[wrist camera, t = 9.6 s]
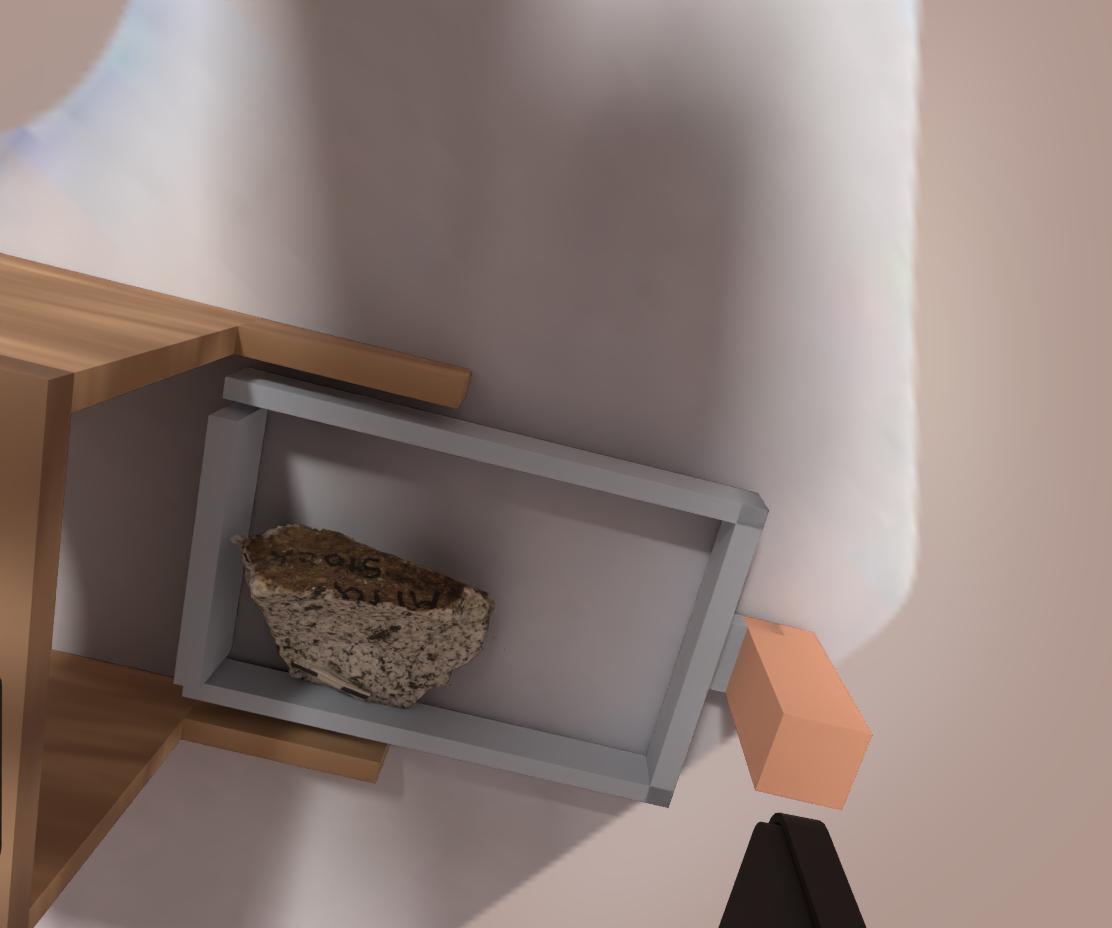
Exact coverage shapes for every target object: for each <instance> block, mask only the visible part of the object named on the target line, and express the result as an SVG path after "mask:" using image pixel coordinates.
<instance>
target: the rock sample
mask: <svg viewBox="0 0 1112 928" xmlns="http://www.w3.org/2000/svg"><path fill="white" fill-rule="evenodd" d="M243 534H244V533H243ZM244 535H245V534H244ZM241 538H242V539H243V537H242V536H241V537H240V536H239V534H238V535H233V536H232V537H231V538H230V540H231V542H232V543H235V544H238V546H239V549H240V551H241V555H242V562H243V563H244V576H245V580H246V582H247V584H248V586H249V588H250V589H251V597H252V598H253V600H254V602H255V604H256V605H257V606H258V607H259V609H260V611H261V612H262V614H263V616H264V618H265V620H266V622H267V625H268V628H269V630H270V632H271V635H272V637H273V640H274V642H275V644H276V647H277V650H278V653H279V654H280V656H281V657H282V658H283V659H284V661H285V662H286V663H287V667H288V671H289V674H290V675H291V676H292V677H294V678H298V679H301V680H304V681H307V682H310V683H313V684H315V685H322V686H326V687H331V688H333V689H336V690H338V691H341V692H343V693H346V694H348V695H350V696H351V697H353V698H354V699H356V700H360V701H368V702H373V703H378V704H380V705H386V706H391V707H397V708H403V709H407V708H409V707H410V706H412V705H413V704H414V703H416V702H417V701H418V700H419V699H420V697H422V696H423V695H424V694H425V693H426V691H427V690H429V689H430V688H434V687H445V685H446V684H447V682H448V681H449V678H450V675H451V673H452V670H453V669H454V668H458V667H461V666H464V665H466V664H467V663H468V662H469V661H471V660H472V659H473V658H474V657H475V656H476V655H477V654H478V651H479V648H480V647H481V648H482V646H481V645H482V643H483V641H484V636H485V634H486V633H487V631H488V629H489V628H488V626H489V618H490V615H491V612H492V611H493V610H494V605H495V604H494V601H493V600H492V598H491V597H490V595H489V594H488V593H486V592H484V591H482V590H479V589H474V588H471V587H470V586H468V585H467V584H465V583H460V582H458V581H456V580H453V579H451V578H449V577H447V576H444V575H441V574H439V573H437V572H435V571H433V570H431V569H429V568H427V567H423V566H418V565H415V564H413V563H412V562H410V561H404V560H402V559H401V558H399V557H397V556H395V555H392V554H389V553H384V552H381V551H378V550H376V549H374V548H371V547H369V546H367V545H364V544H360V543H358V542H355V541H354V539H353V538H349V537H347V536H345V535H344V534H342V533H340V532H336V531H331V530H326V529H322V530H321V531H319V530H317V529H312V528H310V527H308V526H303V525H299V523H297V524H294V525H290V524H287V525H286V526H277V528H275V529H268V530H267V531H266V532H264V533H263V534H262V535H256V536H252V537H251V538H245V539H243V540H242V539H241ZM239 556H240V555H239ZM494 639H496V637H494ZM482 649H483V648H482ZM504 650H505V649H504ZM449 685H450V684H449Z"/></svg>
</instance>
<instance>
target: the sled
mask: <svg viewBox="0 0 1112 928" xmlns="http://www.w3.org/2000/svg"><path fill="white" fill-rule="evenodd" d="M222 398H224V399H228V400H232V401H235V402H233V403H231V404H229V405H227V406H225V407H223V408H222V409H220V410H218V411H216V412H214V413H212V414H210V415H209V417H208V424H207V432H206V439H205V447H204V455H203V462H202V470H201V477H200V485H199V492H198V500H197V508H196V515H195V523H194V530H193V538H192V546H191V553H190V561H189V568H188V576H187V584H186V591H185V599H184V606H183V614H182V622H181V629H180V637H179V644H178V652H177V659H176V667H175V675H174V682H173V684H178V685H182V686H183V691H182V696H183V697H188V698H192V699H196V700H201V701H205V702H209V703H214V704H218V705H222V706H227V707H231V708H236V709H240V710H244V711H249V712H253V713H257V714H262V715H266V716H270V717H275V718H279V719H283V720H288V721H292V722H296V723H301V724H305V725H310V726H314V727H318V728H323V729H327V730H331V731H336V732H340V733H344V734H349V735H353V736H357V737H362V738H366V739H371V740H375V741H379V742H384V743H388V744H392V745H397V746H401V747H405V748H410V749H414V750H418V751H423V752H427V753H431V754H436V755H440V756H445V757H449V758H453V759H458V760H462V761H466V762H471V763H475V764H479V765H484V766H488V767H492V768H497V769H501V770H505V771H510V772H514V773H519V774H523V775H527V776H532V777H536V778H540V779H545V780H549V781H553V782H558V783H562V784H566V785H571V786H575V787H579V788H584V789H588V790H593V791H597V792H601V793H606V794H610V795H614V796H619V797H623V798H627V799H632V800H636V801H640V802H645V803H649V804H654V805H658V806H663V807H667V808H668V807H669V804H670V802H671V798H672V796H673V793H674V789H675V787H676V784H677V781H678V778H679V775H680V772H681V769H682V766H683V763H684V760H685V757H686V754H687V751H688V748H689V745H690V742H691V740H692V737H693V734H694V731H695V728H696V725H697V722H698V719H699V716H700V713H701V710H702V707H703V704H704V701H705V698H706V695H707V692H708V689H711V690H716V691H720V692H724V693H725V694H726V698H727V701H728V704H729V707H730V710H731V714H732V717H733V720H734V723H735V726H736V730H737V733H738V736H739V739H740V743H741V746H742V749H743V752H744V755H745V759H746V762H747V765H748V768H749V771H750V775H751V778H752V781H753V784H754V788H755V790H756V791H760V792H764V793H769V794H773V795H777V796H782V797H786V798H791V799H795V800H799V801H803V802H808V803H812V804H817V805H821V806H825V807H829V808H834V809H838V810H842V809H843V806H844V804H845V801H846V799H847V797H848V794H849V792H850V789H851V787H852V784H853V782H854V780H855V777H856V775H857V772H858V770H859V767H860V765H861V762H862V760H863V757H864V755H865V752H866V750H867V748H868V745H869V743H870V740H871V738H872V736H873V734H872V732H871V730H870V729H869V727H868V725H867V724H866V722H865V720H864V718H863V717H862V715H861V713H860V711H859V710H858V708H857V706H856V705H855V703H854V701H853V699H852V698H851V696H850V694H849V692H848V691H847V689H846V687H845V685H844V684H843V682H842V680H841V678H840V677H839V675H838V673H837V672H836V670H835V668H834V666H833V665H832V663H831V661H830V659H829V658H828V656H827V654H826V652H825V651H824V649H823V647H822V646H821V644H820V642H819V640H818V639H817V637H816V635H815V633H813V632H809V631H805V630H801V629H796V628H792V627H788V626H784V625H780V624H776V623H771V622H767V621H763V620H759V619H755V618H751V617H746V616H742V615H738V614H734V612H735V609H736V606H737V603H738V601H739V598H740V595H741V592H742V589H743V586H744V583H745V580H746V577H747V574H748V571H749V568H750V565H751V562H752V559H753V556H754V553H755V550H756V547H757V544H758V541H759V538H760V535H761V532H762V530H763V527H764V524H765V521H766V518H767V515H768V512H769V509H768V508H767V506H766V505H765V503H764V502H763V500H762V499H761V497H760V496H759V494H758V493H755V492H751V491H747V490H743V489H739V488H735V487H731V486H727V485H723V484H719V483H715V482H711V481H706V480H702V479H698V478H694V477H690V476H686V475H682V474H678V473H674V472H670V471H666V470H662V469H658V468H654V467H650V466H646V465H641V464H637V463H633V462H629V461H625V460H621V459H617V458H613V457H609V456H605V455H601V454H597V453H593V452H589V451H585V450H581V449H577V448H572V447H568V446H564V445H560V444H556V443H552V442H548V441H544V440H540V439H536V438H532V437H528V436H524V435H520V434H516V433H512V432H507V431H503V430H499V429H495V428H491V427H487V426H483V425H479V424H475V423H471V422H467V421H463V420H459V419H455V418H451V417H447V416H442V415H438V414H434V413H430V412H426V411H422V410H418V409H414V408H410V407H406V406H402V405H398V404H394V403H390V402H386V401H382V400H378V399H373V398H369V397H365V396H361V395H357V394H353V393H349V392H345V391H341V390H337V389H333V388H329V387H325V386H321V385H317V384H313V383H308V382H304V381H300V380H296V379H292V378H288V377H284V376H280V375H276V374H272V373H268V372H264V371H260V370H256V369H252V368H248V367H247V368H244V369H242V370H240V371H237V372H235V373H233V374H230V375H228V376H225V382H224V389H223V396H222ZM268 409H269V410H273V411H277V412H281V413H285V414H289V415H293V416H297V417H301V418H305V419H309V420H314V421H318V422H322V423H326V424H330V425H334V426H338V427H342V428H346V429H350V430H354V431H359V432H363V433H367V434H371V435H375V436H379V437H383V438H387V439H391V440H395V441H399V442H404V443H408V444H412V445H416V446H420V447H424V448H428V449H432V450H436V451H440V452H444V453H449V454H453V455H457V456H461V457H465V458H469V459H473V460H477V461H481V462H485V463H489V464H494V465H498V466H502V467H506V468H510V469H514V470H518V471H522V472H526V473H530V474H534V475H539V476H543V477H547V478H551V479H555V480H559V481H563V482H567V483H571V484H575V485H579V486H584V487H588V488H592V489H596V490H600V491H604V492H608V493H612V494H616V495H620V496H624V497H629V498H633V499H637V500H641V501H645V502H649V503H653V504H657V505H661V506H665V507H669V508H674V509H678V510H682V511H686V512H690V513H694V514H698V515H702V516H706V517H710V518H714V519H719V520H722V522H721V525H720V528H719V531H718V534H717V537H716V541H715V544H714V547H713V550H712V553H711V556H710V559H709V562H708V565H707V568H706V572H705V575H704V578H703V581H702V584H701V587H700V590H699V593H698V596H697V600H696V603H695V606H694V609H693V612H692V615H691V618H690V621H689V624H688V627H687V631H686V634H685V637H684V640H683V643H682V646H681V649H680V652H679V655H678V658H677V662H676V665H675V668H674V671H673V674H672V677H671V680H670V683H669V686H668V689H667V693H666V696H665V699H664V702H663V705H662V708H661V711H660V714H659V717H658V720H657V724H656V727H655V730H654V733H653V736H652V739H651V742H650V745H649V748H648V752H647V755H646V756H645V755H641V754H636V753H632V752H628V751H624V750H619V749H615V748H611V747H606V746H602V745H598V744H593V743H589V742H585V741H580V740H576V739H572V738H567V737H563V736H559V735H555V734H550V733H546V732H542V731H537V730H533V729H529V728H524V727H520V726H516V725H511V724H507V723H503V722H499V721H494V720H490V719H486V718H481V717H477V716H473V715H468V714H464V713H460V712H455V711H451V710H447V709H442V708H438V707H434V706H430V705H425V704H421V703H417V702H416V703H414V704H413V705H412V706H410V707H409V708H407V709H403V708H397V707H391V706H386V705H380V704H378V703H373V702H368V701H360V700H356V699H354V698H353V697H351V696H350V695H348V694H346V693H343V692H341V691H338V690H336V689H333V688H331V687H326V686H322V685H315V684H313V683H310V682H307V681H304V680H301V679H298V678H294V677H292V676H291V675H290V674H289V673H287V672H283V671H279V670H274V669H270V668H266V667H261V666H257V665H253V664H249V663H244V662H240V661H236V660H231V659H227V658H226V656H227V655H228V654H229V653H230V652H231V648H232V642H233V635H234V629H235V622H236V616H237V609H238V602H239V596H240V589H241V583H242V576H243V570H244V563H243V562H242V555H241V551H240V549H239V546H238V544H235V543H232V542H231V540H230V538H231V537H232V536H233V535H238V534H239V536H240V537H241V536H242V537H243V539H245V538H248V537H249V530H250V523H251V517H252V510H253V504H254V497H255V491H256V484H257V477H258V471H259V464H260V458H261V451H262V445H263V438H264V431H265V425H266V418H267V412H268ZM243 533H244V534H245V535H244V534H243ZM241 539H242V538H241ZM243 539H242V540H243ZM239 555H240V556H239Z"/></svg>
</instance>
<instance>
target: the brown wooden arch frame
mask: <svg viewBox="0 0 1112 928" xmlns="http://www.w3.org/2000/svg"><path fill="white" fill-rule="evenodd" d="M232 354H236V355H240V356H244V357H248V358H252V359H257V360H261V361H265V362H269V363H273V364H277V365H281V366H285V367H289V368H293V369H297V370H301V371H305V372H309V373H313V374H317V375H321V376H325V377H329V378H334V379H338V380H342V381H346V382H350V383H354V384H358V385H362V386H366V387H370V388H374V389H378V390H382V391H386V392H390V393H394V394H398V395H402V396H406V397H411V398H415V399H419V400H423V401H427V402H431V403H435V404H439V405H443V406H447V407H451V408H455V409H458V407H459V406H460V404H461V403H462V401H463V400H464V398H465V397H466V395H467V390H468V386H469V381H470V377H471V372H472V370H468V369H464V368H460V367H456V366H452V365H448V364H444V363H440V362H436V361H432V360H428V359H424V358H420V357H416V356H412V355H408V354H404V353H400V352H396V351H392V350H388V349H384V348H379V347H375V346H371V345H367V344H363V343H359V342H355V341H351V340H347V339H343V338H339V337H335V336H331V335H327V334H323V333H319V332H315V331H311V330H307V329H303V328H299V327H295V326H291V325H287V324H283V323H279V322H275V321H271V320H267V319H263V318H259V317H255V316H251V315H247V314H243V313H239V312H235V311H231V310H227V309H223V308H219V307H215V306H211V305H207V304H203V303H199V302H195V301H191V300H187V299H183V298H179V297H174V296H170V295H166V294H162V293H158V292H154V291H150V290H146V289H142V288H138V287H134V286H130V285H126V284H122V283H118V282H114V281H110V280H106V279H102V278H98V277H94V276H90V275H86V274H82V273H78V272H74V271H70V270H66V269H62V268H58V267H54V266H50V265H46V264H42V263H38V262H34V261H30V260H26V259H22V258H18V257H14V256H10V255H6V254H2V253H0V678H1V681H2V848H1V855H0V928H34V927H35V925H36V924H37V923H38V921H39V920H40V919H41V918H42V916H43V915H44V914H45V912H46V911H47V910H48V909H49V907H50V906H51V905H52V903H53V902H54V901H55V900H56V898H57V897H58V896H59V895H60V893H61V892H62V891H63V889H64V888H65V887H66V886H67V884H68V883H69V882H70V880H71V879H72V878H73V877H74V875H75V874H76V873H77V871H78V870H79V869H80V868H81V866H82V865H83V864H84V863H85V861H86V860H87V859H88V857H89V856H90V855H91V854H92V852H93V851H94V850H95V848H96V847H97V846H98V845H99V843H100V842H101V841H102V839H103V838H104V837H105V836H106V834H107V833H108V832H109V831H110V829H111V828H112V827H113V825H114V824H115V823H116V822H117V820H118V819H119V818H120V816H121V815H122V814H123V813H124V811H125V810H126V809H127V807H128V806H129V805H130V804H131V802H132V801H133V800H134V799H135V797H136V796H137V795H138V793H139V792H140V791H141V790H142V788H143V787H144V786H145V784H146V783H147V782H148V781H149V779H150V778H151V777H152V775H153V774H154V773H155V772H156V770H157V769H158V768H159V767H160V765H161V764H162V763H163V761H164V760H165V759H166V758H167V756H168V755H169V754H170V752H171V751H172V750H173V749H174V747H175V746H176V745H177V743H178V742H179V741H180V740H181V739H182V740H186V741H191V742H195V743H200V744H204V745H208V746H213V747H217V748H222V749H226V750H230V751H235V752H239V753H244V754H248V755H252V756H257V757H261V758H265V759H270V760H274V761H279V762H283V763H287V764H292V765H296V766H301V767H305V768H309V769H314V770H318V771H323V772H327V773H331V774H336V775H340V776H345V777H349V778H353V779H358V780H362V781H367V782H371V783H375V784H376V781H377V779H378V776H379V773H380V770H381V768H382V765H383V762H384V760H385V757H386V754H387V751H388V749H389V745H390V744H388V743H384V742H379V741H375V740H371V739H366V738H362V737H357V736H353V735H349V734H344V733H340V732H336V731H331V730H327V729H323V728H318V727H314V726H310V725H305V724H301V723H296V722H292V721H288V720H283V719H279V718H275V717H270V716H266V715H262V714H257V713H253V712H249V711H244V710H240V709H236V708H231V707H227V706H222V705H218V704H214V703H209V702H205V701H201V700H196V699H192V698H188V697H183V696H182V691H183V686H182V685H178V684H173V682H174V678H172V677H168V676H164V675H159V674H155V673H151V672H146V671H142V670H138V669H133V668H129V667H125V666H120V665H116V664H112V663H107V662H103V661H99V660H94V659H90V658H86V657H81V656H77V655H73V654H68V653H64V652H60V651H55V650H51V648H52V636H53V624H54V612H55V600H56V588H57V576H58V564H59V552H60V540H61V528H62V516H63V504H64V493H65V481H66V469H67V457H68V445H69V433H70V421H71V413H73V412H76V411H78V410H81V409H84V408H87V407H89V406H92V405H95V404H98V403H100V402H103V401H106V400H109V399H111V398H114V397H117V396H120V395H122V394H125V393H128V392H131V391H133V390H136V389H139V388H142V387H144V386H147V385H150V384H153V383H155V382H158V381H161V380H164V379H166V378H169V377H172V376H175V375H177V374H180V373H183V372H185V371H188V370H191V369H194V368H196V367H199V366H202V365H205V364H207V363H210V362H213V361H216V360H218V359H221V358H224V357H227V356H229V355H232Z"/></svg>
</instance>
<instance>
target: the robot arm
mask: <svg viewBox="0 0 1112 928" xmlns="http://www.w3.org/2000/svg"><path fill="white" fill-rule="evenodd" d="M1 848H2V681H1V678H0V855H1ZM719 928H866V925H865V923H864V921H863V918H862V915H861V913H860V911H859V908H858V905H857V903H856V900H855V898H854V895H853V893H852V890H851V888H850V885H849V883H848V880H847V878H846V875H845V872H844V870H843V868H842V865H841V862H840V860H839V857H838V855H837V852H836V850H835V847H834V845H833V842H832V840H831V837H830V835H829V832H828V830H827V828H826V826H825V824H824V823H823V822H821V821H819V820H814V819H809V818H804V817H799V816H794V815H788V814H783V813H775V814H774V815H773V816H772V817H771V819H770V821H769V823H765V822H759V823H757V825H756V826H755V828H754V830H753V833H752V836H751V839H750V841H749V844H748V847H747V850H746V853H745V855H744V858H743V861H742V864H741V867H740V869H739V872H738V875H737V878H736V880H735V883H734V886H733V889H732V892H731V894H730V897H729V900H728V903H727V905H726V908H725V911H724V914H723V917H722V919H721V922H720V925H719Z"/></svg>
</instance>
